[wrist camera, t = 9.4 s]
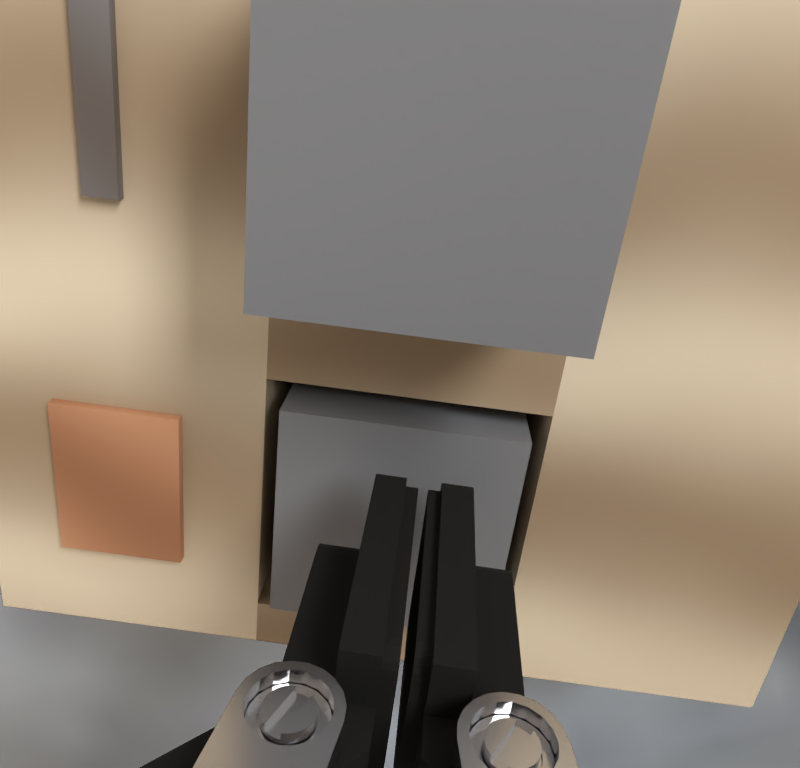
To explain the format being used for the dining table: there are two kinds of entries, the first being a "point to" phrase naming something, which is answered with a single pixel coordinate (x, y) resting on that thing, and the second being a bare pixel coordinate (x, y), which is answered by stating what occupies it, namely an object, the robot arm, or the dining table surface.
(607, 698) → the dining table surface
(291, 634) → the robot arm
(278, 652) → the dining table surface
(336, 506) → the button
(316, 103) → the button
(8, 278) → the switch unit
